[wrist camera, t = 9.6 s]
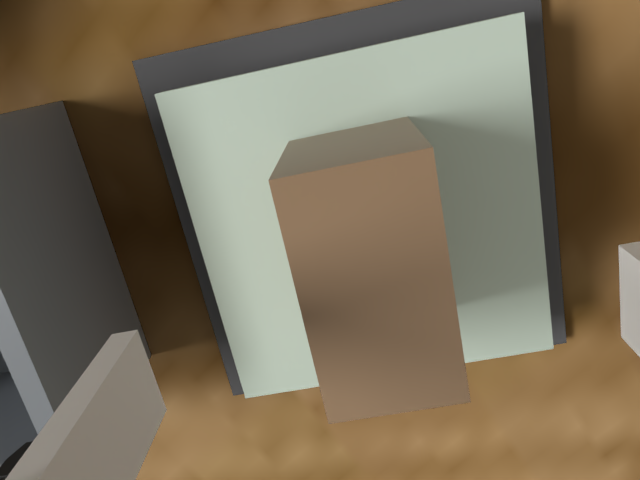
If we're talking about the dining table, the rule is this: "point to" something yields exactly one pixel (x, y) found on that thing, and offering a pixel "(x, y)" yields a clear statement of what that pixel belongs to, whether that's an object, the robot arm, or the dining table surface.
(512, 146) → the block on square base
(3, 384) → the storage box
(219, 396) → the dining table surface
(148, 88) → the mat
